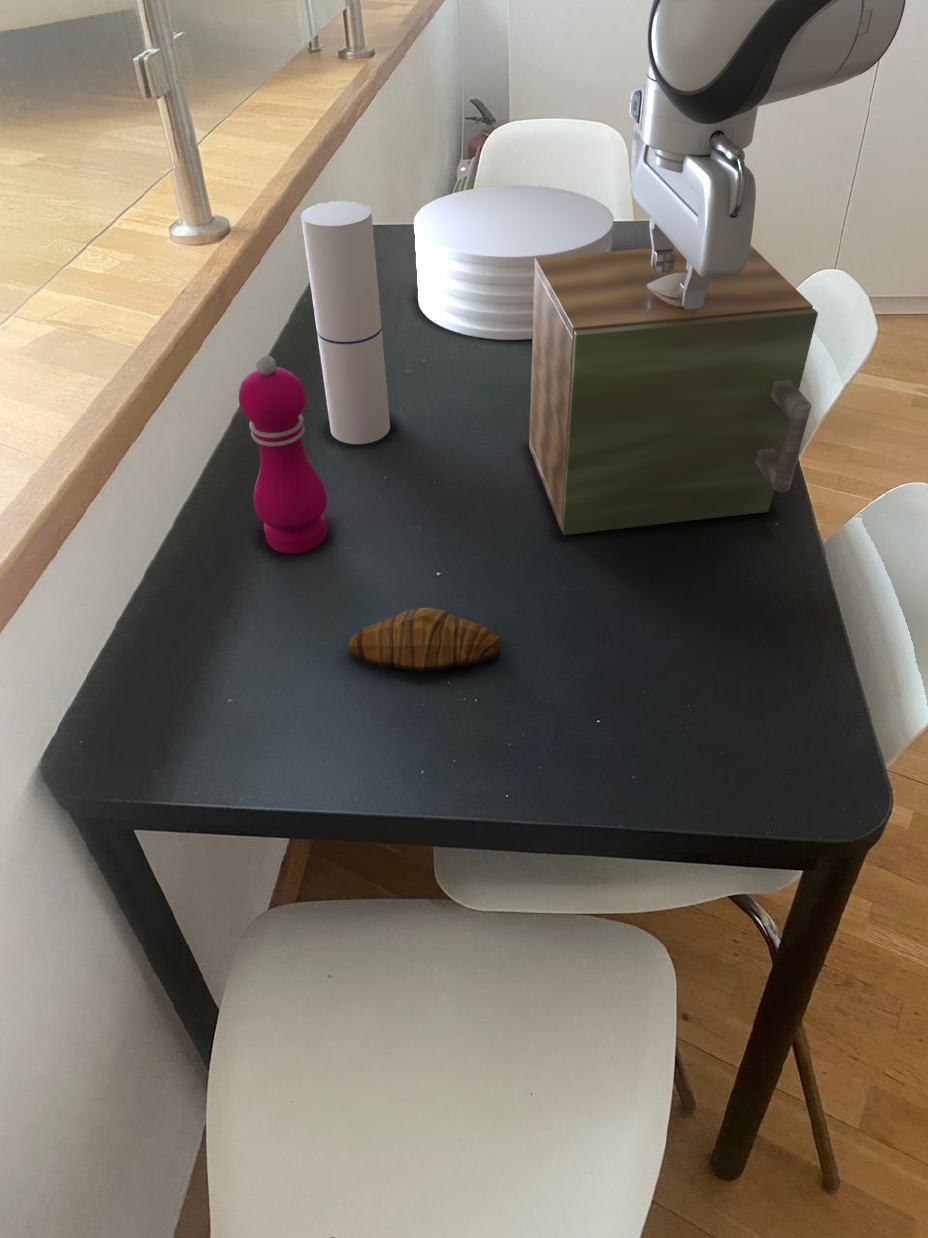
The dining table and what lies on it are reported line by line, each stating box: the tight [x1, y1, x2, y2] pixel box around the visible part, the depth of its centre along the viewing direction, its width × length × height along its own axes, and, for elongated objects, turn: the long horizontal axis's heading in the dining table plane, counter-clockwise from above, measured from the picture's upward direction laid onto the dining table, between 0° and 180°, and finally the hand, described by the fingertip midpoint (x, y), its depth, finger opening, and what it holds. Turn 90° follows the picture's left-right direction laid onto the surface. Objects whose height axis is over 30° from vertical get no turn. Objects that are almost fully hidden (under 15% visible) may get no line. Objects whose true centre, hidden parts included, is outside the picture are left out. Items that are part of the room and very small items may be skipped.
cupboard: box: [528, 244, 814, 531], centre depth 94 cm, size 16×22×22 cm
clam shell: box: [647, 273, 688, 307], centre depth 82 cm, size 4×5×2 cm
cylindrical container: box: [300, 200, 391, 445], centre depth 102 cm, size 7×7×25 cm
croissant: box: [348, 607, 503, 673], centre depth 80 cm, size 14×7×5 cm, turn 89°
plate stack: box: [413, 184, 615, 341], centre depth 133 cm, size 28×28×12 cm
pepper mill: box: [238, 354, 328, 554], centre depth 88 cm, size 7×7×20 cm
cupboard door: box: [561, 308, 819, 536], centre depth 86 cm, size 6×22×22 cm, turn 99°
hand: (675, 287), depth 82 cm, fingers open, 6 cm apart
